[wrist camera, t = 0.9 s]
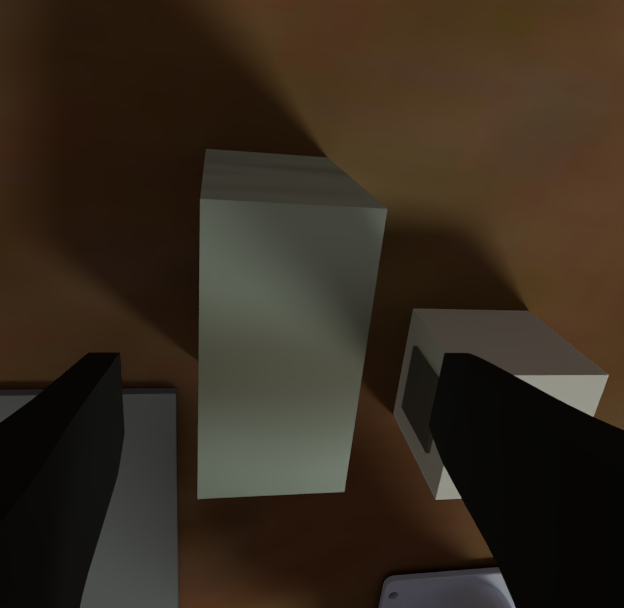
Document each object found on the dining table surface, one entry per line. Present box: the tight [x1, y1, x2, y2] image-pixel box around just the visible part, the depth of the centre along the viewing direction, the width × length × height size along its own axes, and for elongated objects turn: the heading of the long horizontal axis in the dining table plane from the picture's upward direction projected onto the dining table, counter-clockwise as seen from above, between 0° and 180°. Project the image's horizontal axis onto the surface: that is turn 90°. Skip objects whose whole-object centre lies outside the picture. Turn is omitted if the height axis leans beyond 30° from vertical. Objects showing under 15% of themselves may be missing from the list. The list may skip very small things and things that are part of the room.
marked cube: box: [393, 309, 609, 500], centre depth 20 cm, size 5×5×5 cm
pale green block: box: [197, 149, 387, 499], centre depth 16 cm, size 8×4×7 cm, turn 175°
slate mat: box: [0, 388, 179, 608], centre depth 22 cm, size 14×10×1 cm
